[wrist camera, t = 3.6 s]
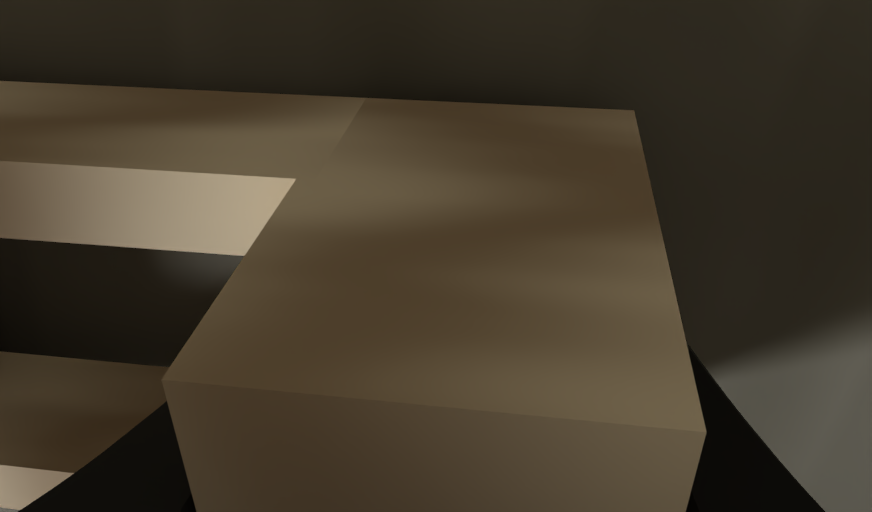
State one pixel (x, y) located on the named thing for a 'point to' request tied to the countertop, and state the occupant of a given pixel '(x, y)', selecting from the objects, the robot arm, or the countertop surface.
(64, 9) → the countertop surface
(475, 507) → the tan boxy piece
